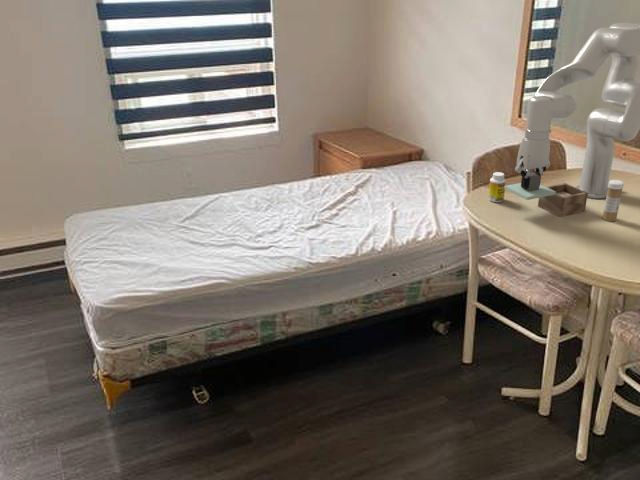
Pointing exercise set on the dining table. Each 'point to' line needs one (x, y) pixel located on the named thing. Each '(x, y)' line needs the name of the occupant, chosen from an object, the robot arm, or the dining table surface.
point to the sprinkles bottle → (612, 200)
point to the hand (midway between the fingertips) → (530, 186)
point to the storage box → (564, 200)
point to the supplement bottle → (497, 187)
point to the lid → (531, 188)
